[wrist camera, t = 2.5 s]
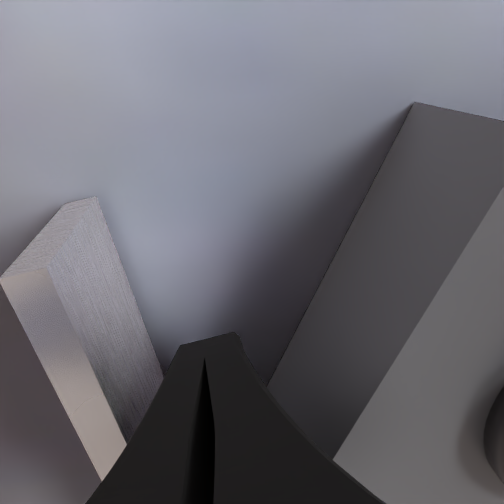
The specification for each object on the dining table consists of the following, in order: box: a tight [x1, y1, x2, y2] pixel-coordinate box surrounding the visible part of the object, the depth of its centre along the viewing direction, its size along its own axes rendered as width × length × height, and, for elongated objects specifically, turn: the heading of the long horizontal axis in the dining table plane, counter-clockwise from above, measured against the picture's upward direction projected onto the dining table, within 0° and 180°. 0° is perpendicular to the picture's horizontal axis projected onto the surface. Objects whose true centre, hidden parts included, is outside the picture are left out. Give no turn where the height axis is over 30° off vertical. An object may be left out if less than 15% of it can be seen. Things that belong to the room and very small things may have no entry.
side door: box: [0, 196, 164, 481], centre depth 10 cm, size 9×1×4 cm, turn 12°
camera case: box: [267, 102, 504, 504], centre depth 11 cm, size 14×9×5 cm, turn 157°
